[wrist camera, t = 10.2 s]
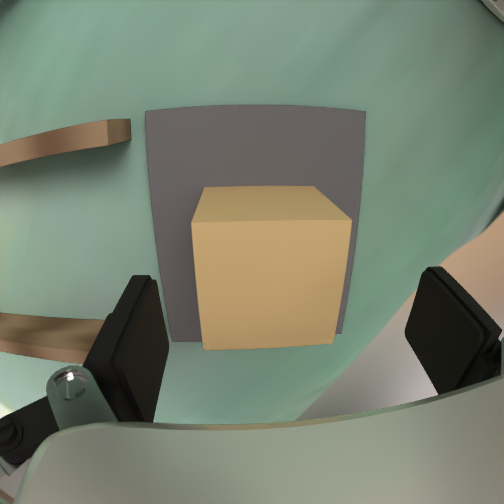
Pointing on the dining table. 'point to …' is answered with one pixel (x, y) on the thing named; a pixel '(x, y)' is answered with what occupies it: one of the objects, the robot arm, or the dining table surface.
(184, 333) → the charcoal mat
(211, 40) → the dining table surface
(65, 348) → the walnut cubby
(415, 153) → the dining table surface
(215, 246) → the ochre cube
